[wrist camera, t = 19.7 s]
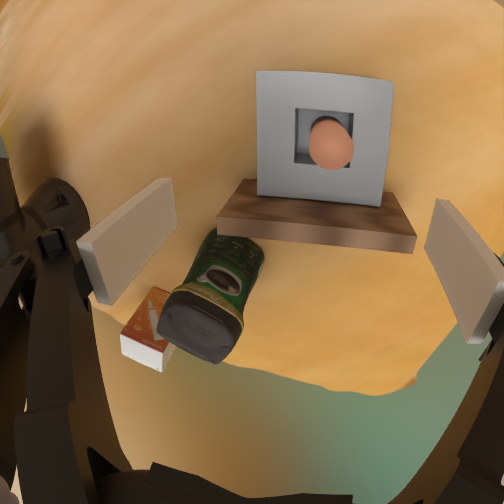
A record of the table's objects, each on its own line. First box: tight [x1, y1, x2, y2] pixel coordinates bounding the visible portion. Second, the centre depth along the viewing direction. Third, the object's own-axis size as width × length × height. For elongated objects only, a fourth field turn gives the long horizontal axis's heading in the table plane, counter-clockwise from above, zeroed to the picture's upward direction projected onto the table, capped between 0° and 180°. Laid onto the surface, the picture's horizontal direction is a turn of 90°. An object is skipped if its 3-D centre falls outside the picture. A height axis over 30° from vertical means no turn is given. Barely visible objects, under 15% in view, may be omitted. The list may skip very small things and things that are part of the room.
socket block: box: [256, 71, 394, 207], centre depth 31 cm, size 14×14×6 cm
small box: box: [120, 287, 176, 372], centre depth 50 cm, size 8×6×13 cm
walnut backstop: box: [216, 179, 417, 254], centre depth 33 cm, size 20×2×12 cm, turn 91°
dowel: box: [309, 116, 354, 170], centre depth 29 cm, size 4×4×10 cm
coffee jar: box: [156, 229, 264, 364], centre depth 39 cm, size 10×8×19 cm
